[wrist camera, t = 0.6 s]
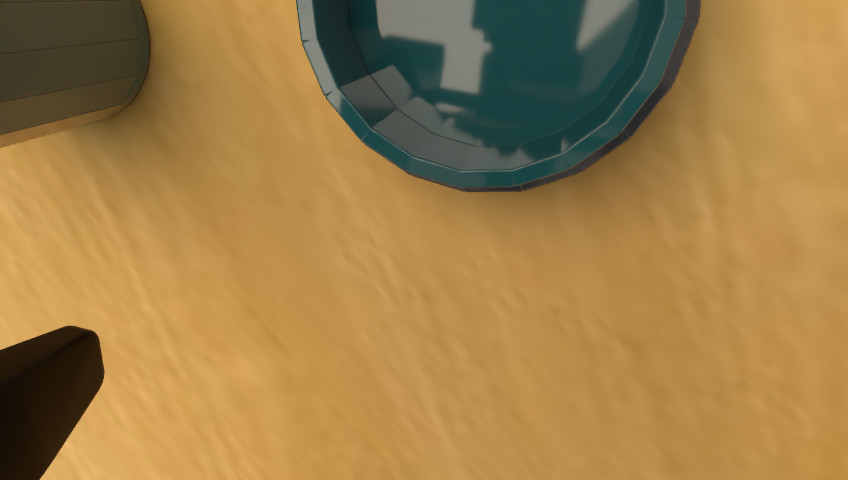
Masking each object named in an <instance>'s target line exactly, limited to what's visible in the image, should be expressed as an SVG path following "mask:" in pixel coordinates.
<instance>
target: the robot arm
mask: <svg viewBox="0 0 848 480" xmlns="http://www.w3.org/2000/svg"><path fill="white" fill-rule="evenodd" d="M103 379H104V366H103V360H102V354H101V348H100V342H99V337H98V335H97V334H96V333H95V332H94V331H92V330H88V329H84V328H80V327H76V326H65V327H62V328H60V329H57V330H54V331H51V332H49V333H46V334H43V335H40V336H38V337H35V338H32V339H29V340H27V341H24V342H21V343H18V344H16V345H13V346H10V347H7V348H5V349H2V350H0V480H40V478H41V477H42V476H43V474H44V473H45V471H46V470H47V469H48V467H49V466H50V464H51V463H52V461H53V460H54V458H55V457H56V455H57V454H58V452H59V451H60V449H61V448H62V446H63V445H64V443H65V441H66V440H67V438H68V437H69V435H70V434H71V432H72V431H73V429H74V428H75V426H76V424H77V423H78V421H79V420H80V418H81V417H82V415H83V414H84V412H85V411H86V409H87V408H88V406H89V404H90V403H91V401H92V400H93V398H94V397H95V395H96V394H97V392H98V391H99V389H100V387H101V385H102V383H103Z"/></svg>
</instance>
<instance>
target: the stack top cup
mask: <svg viewBox="0 0 848 480" xmlns="http://www.w3.org/2000/svg"><path fill="white" fill-rule="evenodd" d="M686 2H687V0H296V3H297V11H298V19H299V27H300V35H301V41H302V42H303V43H302V45H303V47H304V50H305V52H306V54H307V57H308V59H309V61H310V64H311V66H312V68H313V71H314V73H315V75H316V78H317V80H318V82H319V85H320V87H321V89H322V92H323V94H324V96H326V99H327V100H328V101H329V103H330V104H331V105H332V106H333V108H334V109H335V110H336V111H337V112H338V114H339V115H340V116H341V117H342V119H343V120H344V121H345V122H346V123H347V125H348V126H349V127H350V128H351V130H352V131H353V132H354V133H355V134H356V136H357V137H358V138H359V139H360V140H361V141H362V142H363V143H365V144H366V145H368V146H369V147H371V148H372V149H374V150H375V151H376V152H378V153H379V154H381V155H382V156H384V157H385V158H387V159H388V160H390V161H391V162H393V163H394V164H396V165H397V166H399V167H400V168H402V169H403V170H405V171H408V172H409V173H413V174H416V175H419V176H423V177H426V178H429V179H432V180H436V181H439V182H442V183H446V184H449V185H452V186H456V187H461V188H464V187H514V186H520V185H523V184H526V183H529V182H532V181H535V180H538V179H541V178H544V177H548V176H551V175H554V174H557V173H560V172H563V171H566V170H568V169H569V168H573V167H574V166H575V165H577V164H578V163H580V162H581V161H583V160H584V159H585V158H587V157H588V156H590V155H591V154H593V153H594V152H595V151H597V150H598V149H600V148H601V147H603V146H604V145H605V144H607V143H608V142H610V141H611V140H613V139H614V138H615V137H617V136H618V135H619V133H621V132H622V131H623V130H624V129H625V128H626V126H627V125H628V124H629V122H630V121H631V120H632V119H633V117H634V116H635V115H636V114H637V112H638V111H639V110H640V108H641V107H642V106H643V105H644V103H645V102H646V101H647V100H648V98H649V97H650V96H651V94H652V93H653V92H654V91H655V89H656V88H657V87H658V85H659V82H661V81H662V78H663V75H664V73H665V70H666V68H667V65H668V63H669V60H670V57H671V55H672V52H673V50H674V47H675V44H676V42H677V39H678V37H679V34H680V32H681V29H682V26H683V24H684V18H685V16H686Z"/></svg>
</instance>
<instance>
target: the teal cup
mask: <svg viewBox="0 0 848 480" xmlns="http://www.w3.org/2000/svg"><path fill="white" fill-rule="evenodd" d="M148 61H149V35H148V29H147V24H146V19H145V16H144V13H143V10H142V7H141V5H140V2H139V0H0V148H2V147H6V146H10V145H13V144H17V143H21V142H24V141H28V140H31V139H35V138H39V137H42V136H46V135H50V134H53V133H57V132H61V131H64V130H68V129H71V128H75V127H79V126H82V125H86V124H90V123H93V122H97V121H99V120H102V119H103V118H106V117H109V116H111V115H114V114H116V113H117V112H119V111H121V110H122V109H123V108H124V107H126V106H127V105H128V104H129V103H130V102H131V101H132V99H133V98H134V97H135V96H136V94H137V93H138V91H139V89H140V88H141V86H142V83H143V81H144V78H145V75H146V72H147V68H148Z"/></svg>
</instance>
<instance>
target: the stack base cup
mask: <svg viewBox="0 0 848 480" xmlns="http://www.w3.org/2000/svg"><path fill="white" fill-rule="evenodd" d="M700 8H701V0H687V2H686V16H685V18H684V24H683V26H682V29H681V32H680V34H679V37H678V39H677V42H676V44H675V47H674V50H673V52H672V55H671V57H670V60H669V63H668V65H667V68H666V70H665V73H664V75H663V78H662V81H661V82H659V85H658V87H657V88H656V89H655V91H654V92H653V93H652V94H651V96H650V97H649V98H648V100H647V101H646V102H645V103H644V105H643V106H642V107H641V108H640V110H639V111H638V112H637V114H636V115H635V116H634V117H633V119H632V120H631V121H630V122H629V124H628V125H627V126H626V128H625V129H624V130H623V131H622V132H621V133H619V135H618V136H617V137H615V138H614V139H613V140H611V141H610V142H608V143H607V144H605V145H604V146H603V147H601V148H600V149H598V150H597V151H595V152H594V153H593V154H591V155H590V156H588V157H587V158H585V159H584V160H583V161H581V162H580V163H578V164H577V165H575V166H574V167H573V168H569V169H568V170H566V171H563V172H560V173H557V174H554V175H551V176H548V177H544V178H541V179H538V180H535V181H532V182H529V183H526V184H523V185H520V186H514V187H464V188H461V187H456V186H452V185H449V184H446V183H442V182H439V181H436V180H432V179H429V178H426V177H423V176H419V175H416V174H413V173H409V172H408V171H405V170H403V169H402V168H400V167H399V166H397V165H396V164H394V163H393V162H391V161H390V160H388V159H387V158H385V157H384V156H382V155H381V154H379V153H378V152H377V153H378V154H379V155H381V156H382V157H384V158H385V159H387V160H388V161H390V162H391V163H393V164H394V165H396V166H397V167H399V168H400V169H402V170H403V171H405V172H406V173H408V174H409V175H412V176H414V177H417V178H420V179H423V180H427V181H430V182H433V183H437V184H440V185H443V186H447V187H450V188H453V189H456V190H460V191H466V192H521V191H522V190H523V191H526V190H529V189H533V188H536V187H539V186H542V185H545V184H548V183H551V182H554V181H558V180H561V179H564V178H567V177H570V176H573V175H576V174H578V173H579V172H582V171H584V170H585V169H587V168H588V167H590V166H591V165H593V164H594V163H595V162H597V161H598V160H600V159H601V158H603V157H604V156H606V155H607V154H608V153H610V152H611V151H613V150H614V149H616V148H617V147H619V146H620V145H621V144H623V143H624V142H626V141H627V140H629V139H630V138H631V136H633V135H634V134H635V133H636V131H637V130H638V129H639V128H640V126H641V125H642V124H643V123H644V121H645V120H646V119H647V118H648V116H649V115H650V114H651V113H652V111H653V110H654V109H655V108H656V106H657V105H658V104H659V102H660V101H661V100H662V99H663V97H664V96H665V95H666V94H667V92H668V91H669V90H670V89H671V87H672V84H674V82H675V80H676V77H677V75H678V72H679V70H680V67H681V65H682V62H683V60H684V57H685V55H686V52H687V50H688V47H689V45H690V42H691V40H692V37H693V34H694V32H695V29H696V27H697V24H698V22H699V17H700ZM365 145H366V144H365ZM366 146H368V145H366ZM368 147H369V146H368ZM369 148H371V147H369ZM371 149H372V148H371ZM372 150H374V149H372ZM374 151H375V150H374ZM375 152H376V151H375Z"/></svg>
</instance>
